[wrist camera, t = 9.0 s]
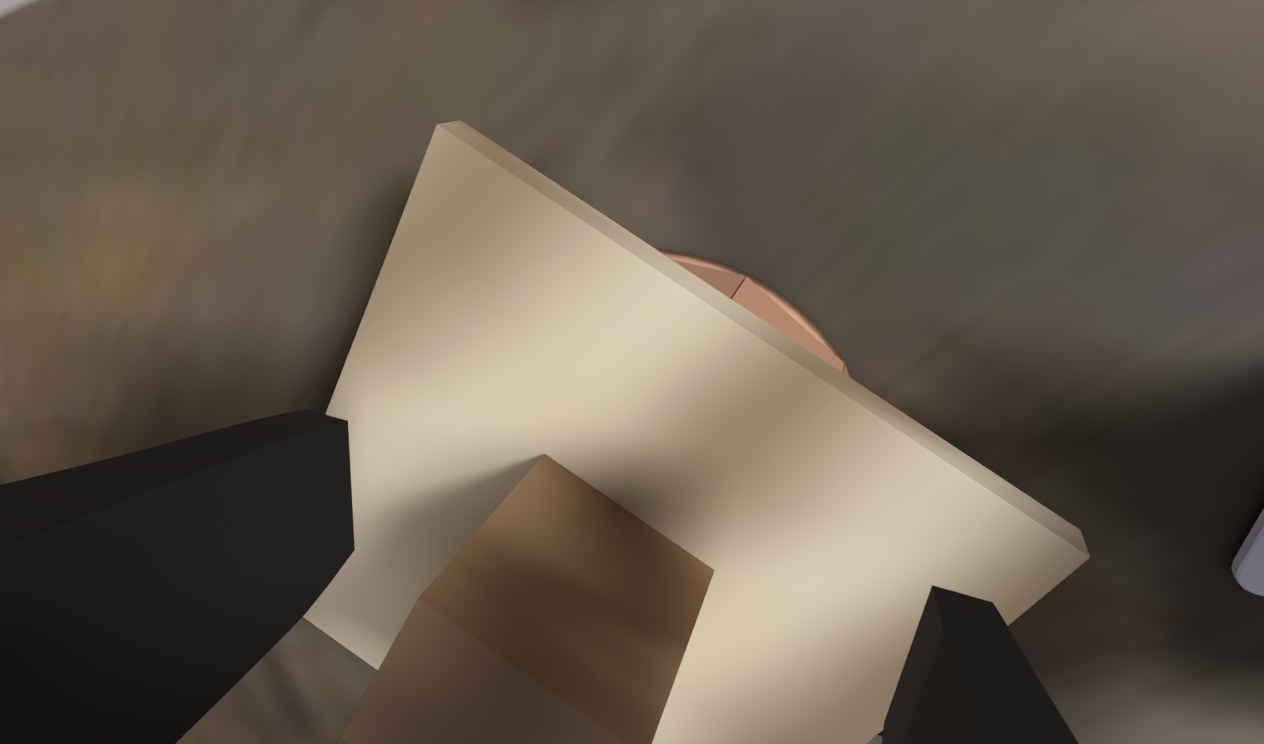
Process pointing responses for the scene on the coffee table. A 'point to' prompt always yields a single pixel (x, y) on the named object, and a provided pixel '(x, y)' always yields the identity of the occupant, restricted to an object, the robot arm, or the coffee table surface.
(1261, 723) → the coffee table surface
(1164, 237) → the coffee table surface
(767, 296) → the bowl
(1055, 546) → the cover board
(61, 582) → the robot arm
